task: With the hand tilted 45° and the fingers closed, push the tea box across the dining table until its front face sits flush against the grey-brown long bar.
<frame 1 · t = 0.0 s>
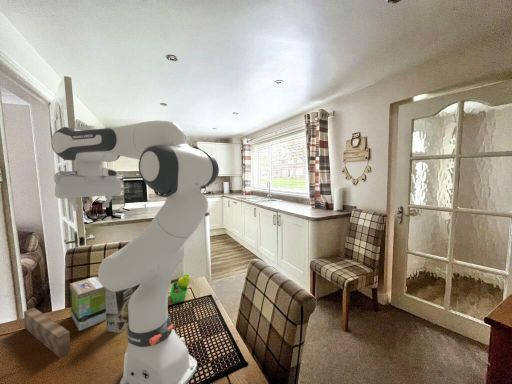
hand: (92, 208, 81), 48 cm above the table, tool pointing down, fingers open, 8 cm apart
fruit basket: (180, 297, 109), on the table
tea box: (89, 318, 93), on the table
coffee box: (122, 324, 88), on the table
grey-brown long bar: (46, 339, 80), on the table
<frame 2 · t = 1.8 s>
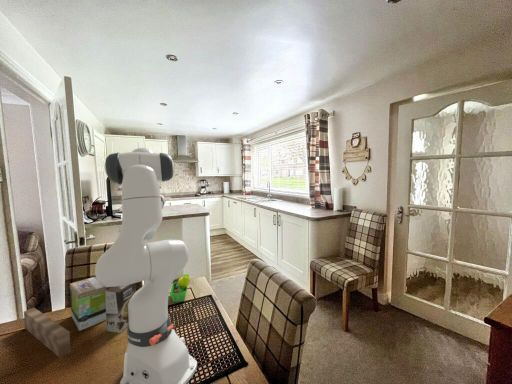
hand: (127, 244, 107), 27 cm above the table, tool tilted 45°, fingers open, 8 cm apart
nothing on the table moved.
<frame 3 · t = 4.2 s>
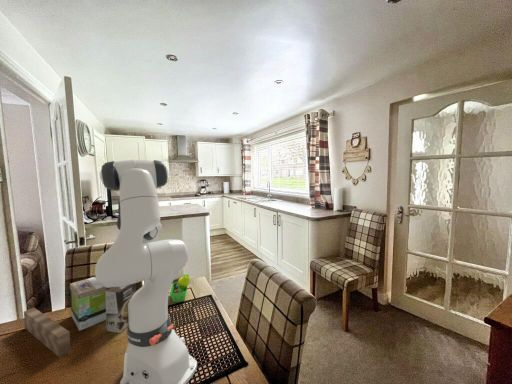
hand: (119, 274, 104), 14 cm above the table, tool tilted 45°, fingers closed
nothing on the table moved.
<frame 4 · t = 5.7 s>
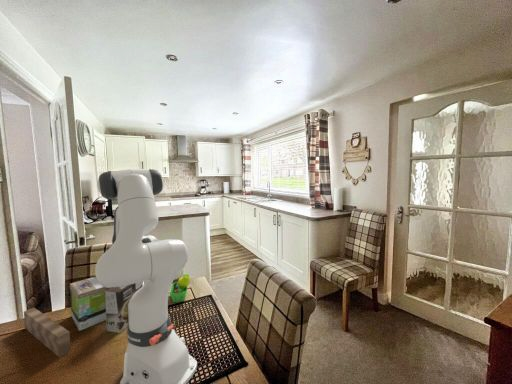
hand: (115, 293, 102), 5 cm above the table, tool tilted 45°, fingers closed
nothing on the table moved.
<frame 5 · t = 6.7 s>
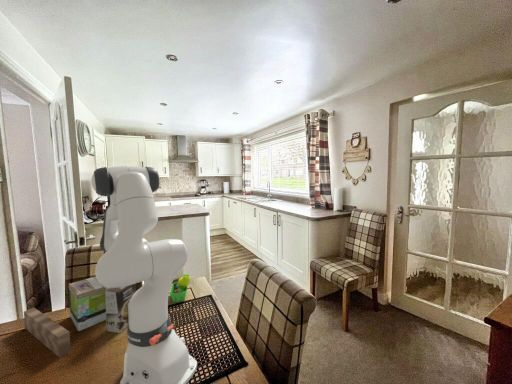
hand: (103, 299, 97), 5 cm above the table, tool tilted 45°, fingers closed
tea box: (88, 318, 92), on the table, touching gripper
everything else where it was.
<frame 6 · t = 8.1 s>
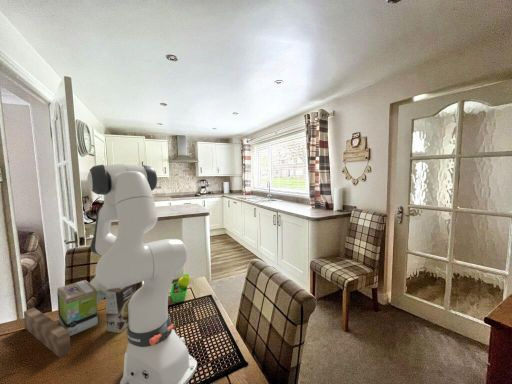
hand: (93, 303, 94), 5 cm above the table, tool tilted 45°, fingers closed
tea box: (78, 323, 89), on the table, touching gripper
everything else where it was.
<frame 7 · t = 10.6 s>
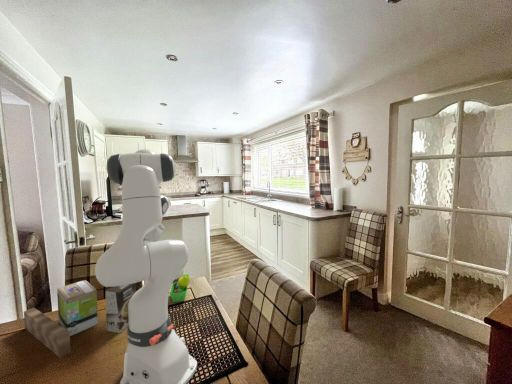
hand: (134, 246, 108), 25 cm above the table, tool tilted 40°, fingers closed
tea box: (78, 323, 89), on the table
everything else where it was.
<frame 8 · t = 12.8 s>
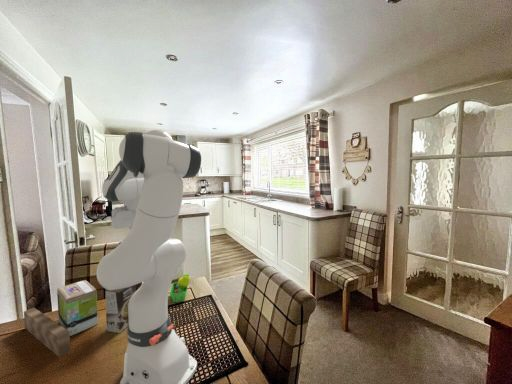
hand: (136, 234, 102), 33 cm above the table, tool pointing down, fingers closed
nothing on the table moved.
at the end: tea box 0.6 cm from the target spot on the table beside the grey-brown long bar, on the table; tea box tilted 0° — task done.
